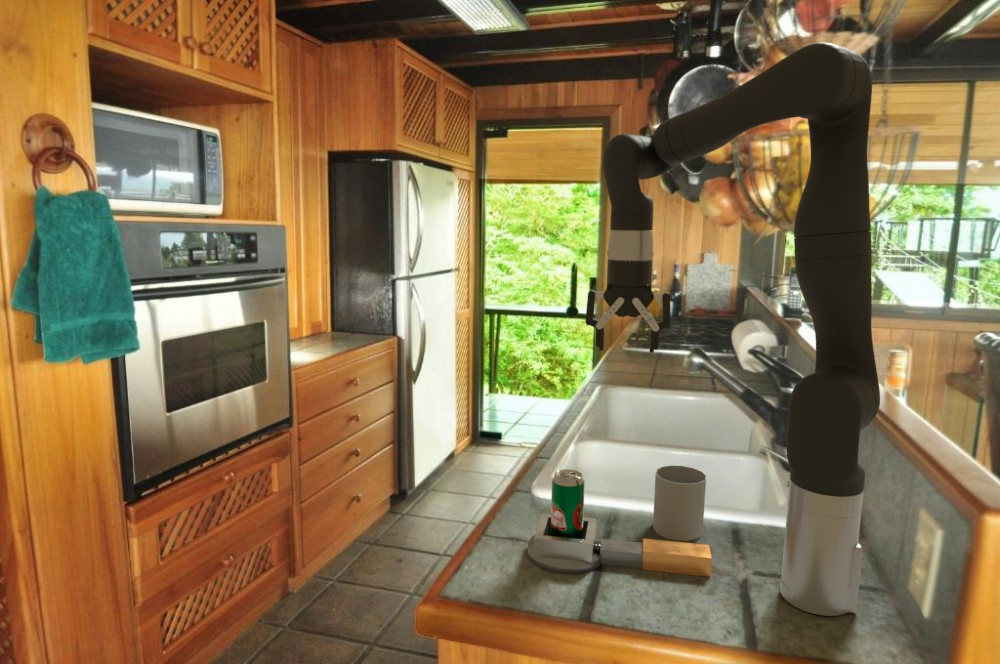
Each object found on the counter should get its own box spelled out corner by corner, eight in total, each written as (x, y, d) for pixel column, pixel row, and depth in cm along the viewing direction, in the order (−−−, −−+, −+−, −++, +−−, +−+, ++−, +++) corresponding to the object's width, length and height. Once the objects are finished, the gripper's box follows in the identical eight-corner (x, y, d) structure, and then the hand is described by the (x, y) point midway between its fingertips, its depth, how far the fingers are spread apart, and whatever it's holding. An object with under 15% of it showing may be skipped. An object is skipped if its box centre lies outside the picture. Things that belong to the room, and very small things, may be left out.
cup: (701, 544, 112) (705, 486, 111) (650, 536, 115) (653, 480, 113) (703, 522, 120) (707, 468, 119) (656, 515, 123) (658, 462, 121)
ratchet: (705, 550, 110) (707, 524, 109) (713, 590, 98) (715, 561, 98) (534, 533, 116) (534, 508, 115) (522, 569, 104) (522, 541, 103)
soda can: (545, 541, 110) (546, 470, 107) (572, 536, 112) (574, 466, 109) (560, 556, 105) (561, 482, 103) (588, 550, 107) (590, 477, 105)
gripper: (672, 256, 118) (667, 348, 120) (589, 255, 120) (586, 345, 123) (674, 259, 110) (669, 357, 113) (586, 257, 113) (583, 353, 116)
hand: (626, 350), depth 118 cm, fingers open, 8 cm apart
